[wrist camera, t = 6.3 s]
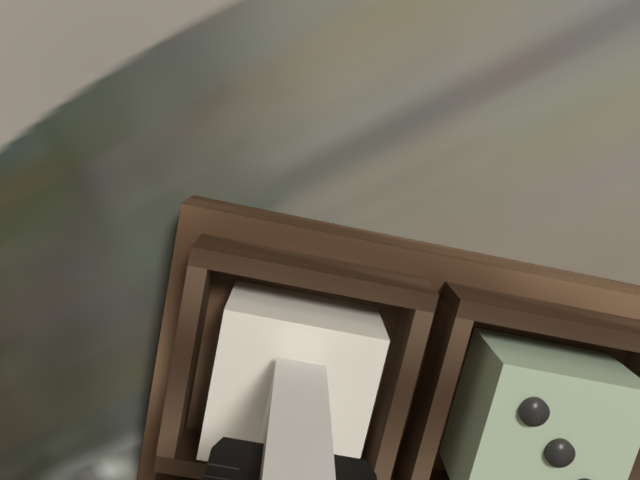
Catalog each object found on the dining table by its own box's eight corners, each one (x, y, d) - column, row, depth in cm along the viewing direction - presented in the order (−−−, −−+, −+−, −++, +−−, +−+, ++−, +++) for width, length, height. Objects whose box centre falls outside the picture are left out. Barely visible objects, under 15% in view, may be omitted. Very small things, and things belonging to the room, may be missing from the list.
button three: (566, 474, 21) (612, 536, 18) (439, 452, 21) (462, 511, 18) (607, 352, 20) (663, 396, 17) (474, 327, 20) (505, 366, 17)
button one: (346, 433, 21) (353, 490, 18) (212, 410, 20) (195, 463, 17) (377, 307, 20) (390, 343, 17) (235, 280, 19) (222, 311, 16)
